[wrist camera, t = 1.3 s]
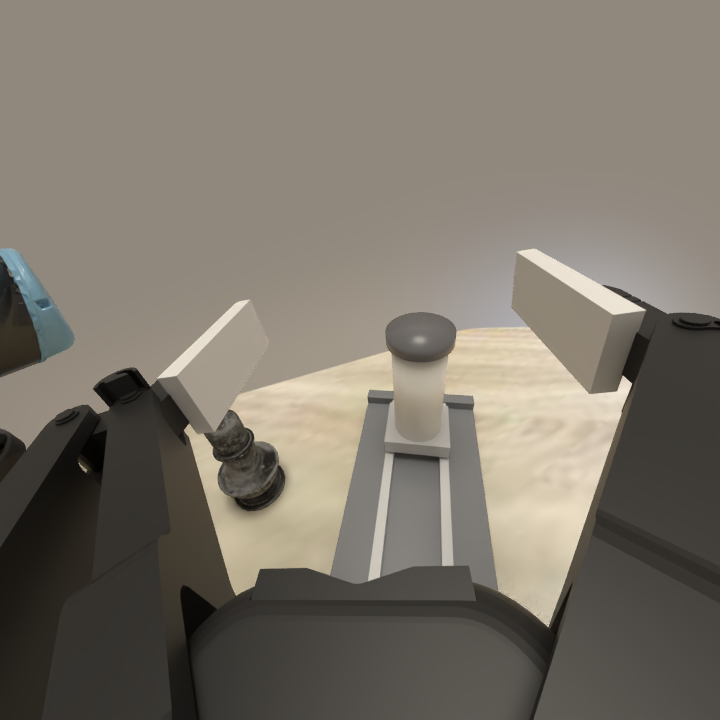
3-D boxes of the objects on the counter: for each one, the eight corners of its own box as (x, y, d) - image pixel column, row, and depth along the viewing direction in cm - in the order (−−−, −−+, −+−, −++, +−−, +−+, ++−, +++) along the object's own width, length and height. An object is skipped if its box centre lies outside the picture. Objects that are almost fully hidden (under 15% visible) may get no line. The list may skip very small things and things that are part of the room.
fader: (385, 452, 28) (375, 349, 21) (390, 411, 32) (384, 312, 24) (448, 458, 27) (465, 352, 19) (446, 415, 31) (459, 312, 23)
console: (305, 721, 18) (293, 721, 16) (371, 405, 38) (369, 389, 36) (516, 788, 16) (531, 798, 14) (469, 412, 35) (472, 395, 33)
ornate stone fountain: (221, 488, 31) (161, 414, 23) (268, 450, 34) (228, 374, 26) (249, 527, 27) (189, 455, 20) (299, 481, 31) (262, 404, 23)
